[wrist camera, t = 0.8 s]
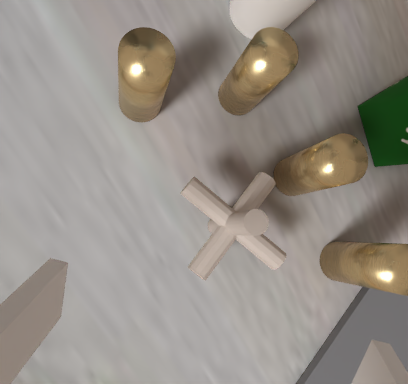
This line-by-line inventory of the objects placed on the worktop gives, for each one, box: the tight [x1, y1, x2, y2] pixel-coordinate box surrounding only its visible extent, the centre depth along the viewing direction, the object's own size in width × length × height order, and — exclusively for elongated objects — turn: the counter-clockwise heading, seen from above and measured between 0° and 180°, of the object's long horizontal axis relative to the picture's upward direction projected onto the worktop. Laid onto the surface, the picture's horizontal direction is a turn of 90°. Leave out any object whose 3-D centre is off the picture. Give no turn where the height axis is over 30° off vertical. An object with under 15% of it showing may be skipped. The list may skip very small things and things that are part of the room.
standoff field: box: [118, 27, 408, 296], centre depth 31 cm, size 12×30×9 cm, turn 48°
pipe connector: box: [180, 172, 286, 280], centre depth 28 cm, size 10×10×10 cm
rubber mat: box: [296, 287, 408, 384], centre depth 35 cm, size 16×16×1 cm
